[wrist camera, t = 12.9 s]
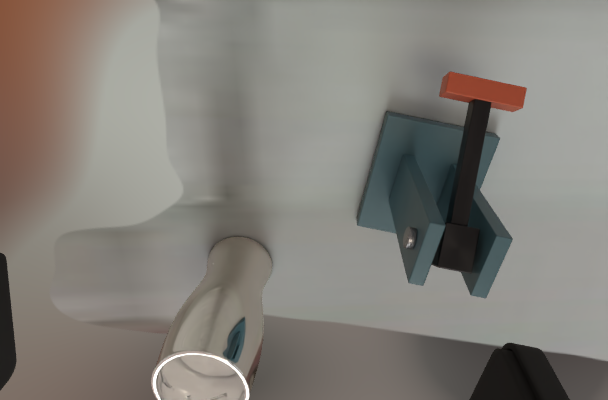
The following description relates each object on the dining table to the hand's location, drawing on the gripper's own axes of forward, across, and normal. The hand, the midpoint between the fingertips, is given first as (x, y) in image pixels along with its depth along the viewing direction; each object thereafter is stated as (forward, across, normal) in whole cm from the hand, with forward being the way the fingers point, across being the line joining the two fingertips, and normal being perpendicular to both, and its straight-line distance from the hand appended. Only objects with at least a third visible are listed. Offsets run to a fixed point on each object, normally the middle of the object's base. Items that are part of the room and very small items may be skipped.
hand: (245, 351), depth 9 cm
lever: (+22, -11, +3) cm, 25 cm away
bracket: (+30, -11, +7) cm, 33 cm away
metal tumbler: (+31, +3, +19) cm, 36 cm away
